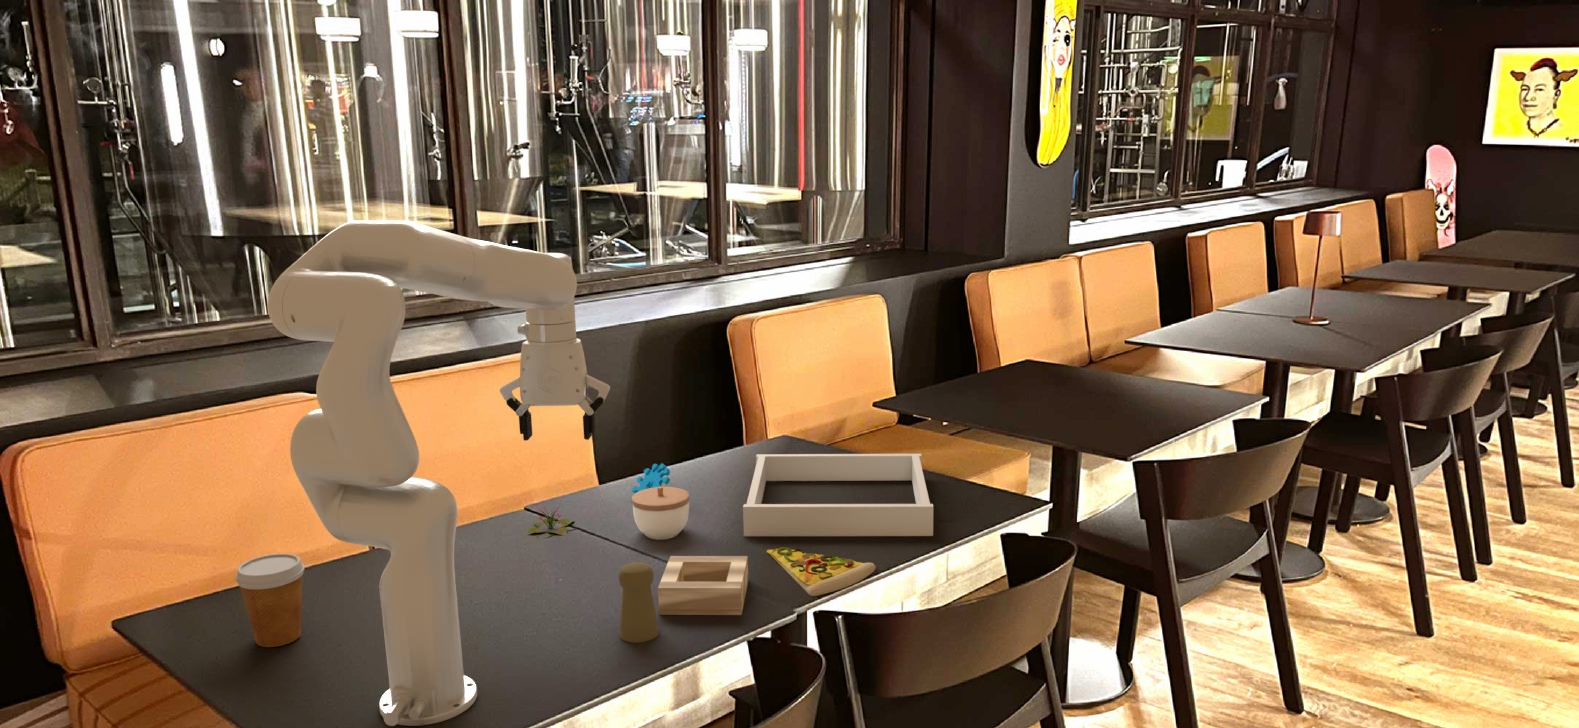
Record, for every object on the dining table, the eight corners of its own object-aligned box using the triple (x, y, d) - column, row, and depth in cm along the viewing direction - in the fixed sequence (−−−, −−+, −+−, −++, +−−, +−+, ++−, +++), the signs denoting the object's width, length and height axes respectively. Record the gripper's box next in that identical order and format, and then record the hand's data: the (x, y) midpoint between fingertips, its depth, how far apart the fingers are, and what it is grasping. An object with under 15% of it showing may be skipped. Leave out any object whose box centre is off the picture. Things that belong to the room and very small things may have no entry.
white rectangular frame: (933, 537, 204) (933, 506, 203) (743, 537, 206) (743, 506, 204) (920, 480, 236) (920, 453, 235) (757, 481, 238) (756, 454, 237)
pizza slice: (819, 603, 179) (819, 586, 178) (735, 568, 193) (734, 552, 193) (883, 575, 189) (883, 559, 188) (798, 544, 204) (798, 529, 203)
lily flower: (537, 548, 204) (535, 524, 203) (507, 531, 213) (505, 508, 212) (594, 531, 211) (593, 509, 210) (563, 516, 220) (561, 494, 219)
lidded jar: (698, 540, 205) (696, 492, 203) (641, 549, 201) (639, 500, 199) (681, 521, 215) (679, 475, 213) (627, 529, 211) (625, 482, 209)
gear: (621, 497, 226) (649, 456, 229) (640, 511, 230) (668, 471, 232) (647, 511, 218) (676, 469, 220) (667, 525, 221) (695, 484, 223)
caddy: (741, 615, 173) (740, 588, 172) (659, 614, 174) (657, 588, 173) (748, 581, 186) (747, 556, 185) (671, 581, 187) (670, 556, 186)
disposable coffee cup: (293, 618, 175) (284, 547, 172) (324, 635, 169) (315, 561, 167) (232, 640, 168) (222, 566, 165) (262, 658, 162) (252, 582, 159)
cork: (651, 644, 164) (648, 574, 162) (613, 641, 165) (609, 572, 163) (664, 626, 170) (661, 559, 168) (626, 623, 171) (623, 556, 169)
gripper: (490, 337, 170) (497, 445, 173) (602, 336, 169) (608, 443, 173) (502, 329, 177) (510, 432, 181) (610, 327, 177) (615, 431, 180)
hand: (558, 437), depth 177 cm, fingers open, 9 cm apart
